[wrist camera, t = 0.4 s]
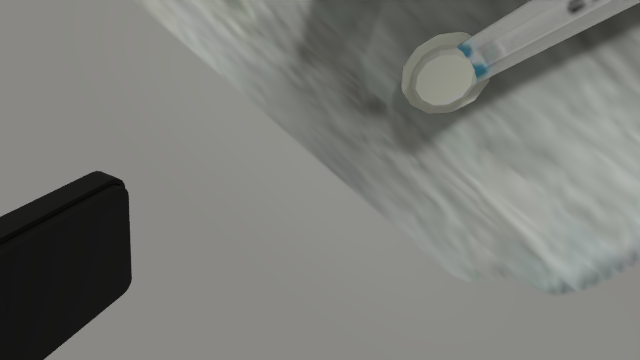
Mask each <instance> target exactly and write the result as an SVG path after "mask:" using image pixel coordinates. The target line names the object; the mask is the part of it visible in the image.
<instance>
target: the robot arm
mask: <svg viewBox="0 0 640 360" xmlns="http://www.w3.org/2000/svg"><path fill="white" fill-rule="evenodd" d="M130 249H131V248H130V222H129V196H128V191H127V190H126V189H125V185H124V183H123V181H122V180H120V179H118V178H116V177H113V176H111V175H108V174H106V173H103V172H101V171H95V172H92V173H90V174H88V175H86V176H83V177H82V178H79V179H77V180H75V181H73V182H71V183H69V184H67V185H65V186H63V187H61V188H59V189H57V190H55V191H53V192H51V193H49V194H47V195H44V196H42V197H40V198H39V199H36V200H34V201H33V202H30V203H28V204H26V205H24V206H22V207H20V208H18V209H16V210H14V211H12V212H10V213H7V214H5V215H3V216H1V217H0V360H44V359H45V358H46V357H47V356H48V355H50V354H51V353H52V352H53V351H55V350H56V349H57V348H58V347H59V346H61V345H62V344H63V343H64V342H66V341H67V340H68V339H69V338H70V337H72V336H73V335H74V334H75V333H77V332H78V331H79V330H80V329H81V328H83V327H84V326H85V325H86V324H88V323H89V322H90V321H91V320H92V319H94V318H95V317H96V316H97V315H98V314H100V313H101V312H102V311H103V310H104V309H106V308H107V307H108V306H109V305H111V304H112V303H113V302H114V301H115V300H117V299H118V298H119V297H120V296H122V295H123V294H124V293H125V292H126V291H127V289H128V288H129V286H130V283H131V279H132V276H131V250H130Z"/></svg>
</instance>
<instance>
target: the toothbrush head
mask: <svg viewBox="0 0 640 360" xmlns="http://www.w3.org/2000/svg"><path fill="white" fill-rule="evenodd" d="M638 3H640V0H530V1H528V2H527V3H525V4H523V5H522V6H520V7H519V8H517V9H515V10H514V11H512V12H511V13H509V14H507V15H506V16H504V17H503V18H501V19H499V20H498V21H496V22H494V23H493V24H491V25H490V26H488V27H486V28H485V29H483V30H482V31H480V32H478V33H477V34H475V35H474V36H472V35H470V34H467V33H465V32H463V31H462V32H453V33H444V34H438V35H436V36H435V37H433V38H431V39H430V40H428V41H426V42H425V43H423V44H421V45H420V46H418V47H417V48H416V49H415V51H414V52H413V53H412V55H411V56H410V58H409V59H408V61H407V62H406V64H405V65H404V67H403V72H402V82H401V89H402V91H403V93H404V95H405V96H406V98H407V100H408V102H409V103H410V105H411V106H413V107H416V108H418V109H420V110H422V111H424V112H426V113H428V114H434V113H451V112H454V111H456V110H458V109H459V108H461V107H463V106H465V105H467V104H469V103H471V102H473V101H474V100H475V99H476V98H477V96H478V95H479V94H480V93H481V91H482V90H483V89H484V88H485V86H486V85H487V84H488V82H489V80H490V77H491V76H493V75H495V74H497V73H499V72H501V71H503V70H505V69H507V68H509V67H511V66H513V65H515V64H517V63H519V62H521V61H523V60H525V59H527V58H529V57H531V56H533V55H535V54H537V53H539V52H541V51H543V50H545V49H547V48H549V47H551V46H553V45H555V44H557V43H559V42H561V41H563V40H565V39H567V38H569V37H571V36H573V35H575V34H577V33H579V32H581V31H583V30H585V29H587V28H589V27H591V26H593V25H595V24H597V23H599V22H601V21H603V20H605V19H607V18H609V17H611V16H613V15H616V14H618V13H620V12H622V11H624V10H626V9H628V8H630V7H632V6H634V5H636V4H638Z"/></svg>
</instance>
